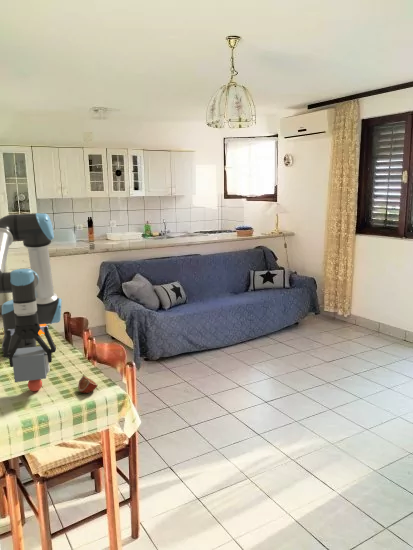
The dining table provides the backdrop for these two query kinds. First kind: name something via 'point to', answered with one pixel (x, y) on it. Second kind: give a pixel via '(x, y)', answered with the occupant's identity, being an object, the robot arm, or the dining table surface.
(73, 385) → the dining table surface
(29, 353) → the slate gray cube
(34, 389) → the ball
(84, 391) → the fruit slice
